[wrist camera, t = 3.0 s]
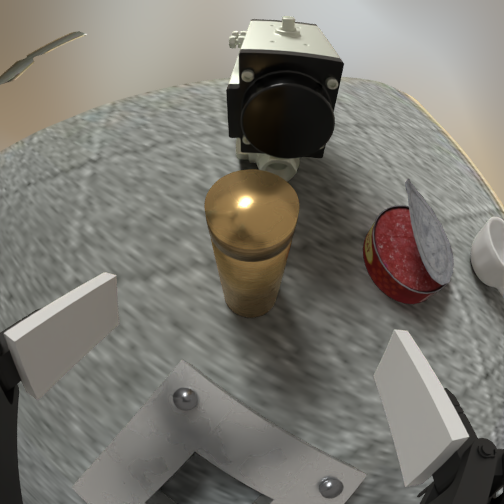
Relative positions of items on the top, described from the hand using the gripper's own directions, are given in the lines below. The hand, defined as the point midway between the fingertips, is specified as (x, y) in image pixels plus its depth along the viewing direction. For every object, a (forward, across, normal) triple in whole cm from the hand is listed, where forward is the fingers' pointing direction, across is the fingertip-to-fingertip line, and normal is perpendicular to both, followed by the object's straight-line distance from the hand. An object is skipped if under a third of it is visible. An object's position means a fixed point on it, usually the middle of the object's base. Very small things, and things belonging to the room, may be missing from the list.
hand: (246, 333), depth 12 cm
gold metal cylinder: (+12, -1, -3) cm, 12 cm away
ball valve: (+24, -2, +9) cm, 25 cm away
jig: (-1, 0, -16) cm, 16 cm away
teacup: (+17, +27, +1) cm, 32 cm away
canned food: (+16, +14, +1) cm, 22 cm away
